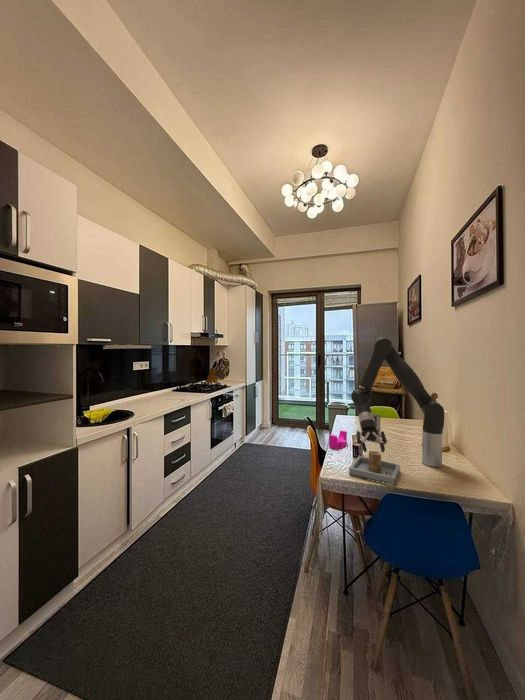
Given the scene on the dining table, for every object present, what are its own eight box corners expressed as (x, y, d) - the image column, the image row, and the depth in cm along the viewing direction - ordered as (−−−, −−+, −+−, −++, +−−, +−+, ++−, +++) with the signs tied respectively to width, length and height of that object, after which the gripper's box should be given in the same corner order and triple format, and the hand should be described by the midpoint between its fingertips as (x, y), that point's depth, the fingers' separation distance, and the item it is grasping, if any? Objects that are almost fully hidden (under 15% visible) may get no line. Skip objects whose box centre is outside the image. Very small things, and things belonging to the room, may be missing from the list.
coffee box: (380, 439, 195) (380, 415, 195) (376, 441, 191) (376, 416, 190) (367, 436, 202) (367, 412, 201) (363, 438, 197) (363, 414, 197)
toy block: (338, 450, 174) (338, 437, 174) (328, 447, 179) (329, 435, 179) (350, 444, 185) (350, 432, 185) (341, 441, 190) (341, 430, 189)
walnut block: (377, 469, 145) (377, 451, 145) (380, 473, 140) (381, 454, 140) (368, 469, 145) (368, 451, 145) (371, 473, 141) (371, 454, 140)
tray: (399, 471, 145) (399, 464, 145) (394, 486, 130) (394, 478, 130) (358, 462, 156) (358, 456, 156) (349, 475, 140) (349, 467, 140)
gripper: (355, 418, 153) (361, 447, 142) (382, 418, 152) (391, 448, 141) (352, 425, 158) (358, 454, 147) (378, 426, 158) (386, 455, 147)
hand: (374, 451), depth 144 cm, fingers open, 8 cm apart
